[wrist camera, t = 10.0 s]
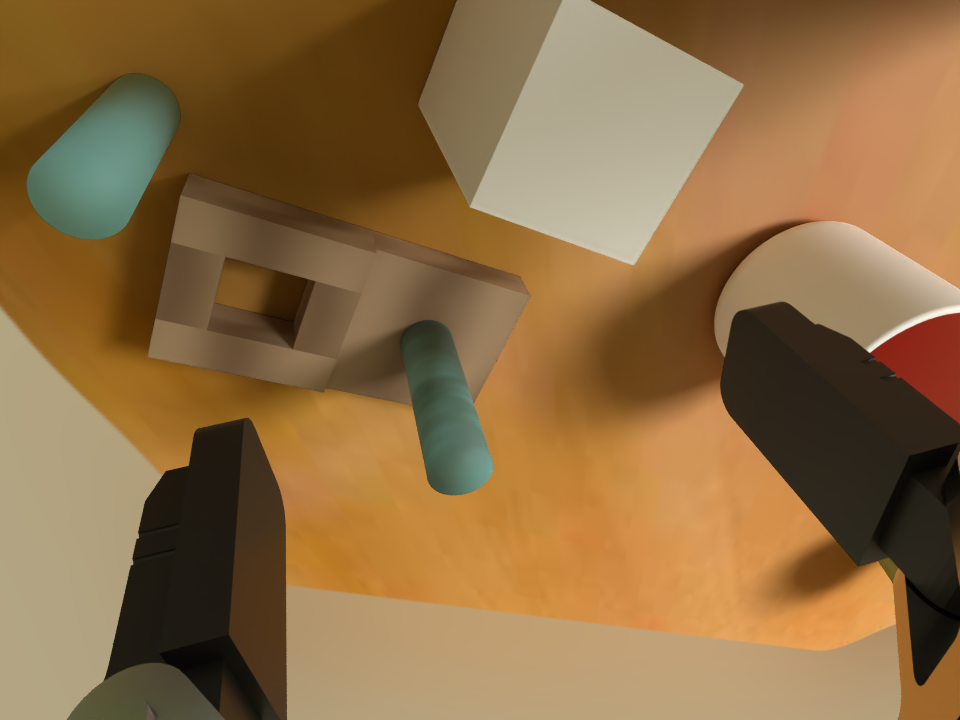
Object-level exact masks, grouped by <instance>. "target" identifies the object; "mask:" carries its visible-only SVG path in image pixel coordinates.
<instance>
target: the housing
mask: <svg viewBox="0 0 960 720" xmlns="http://www.w3.org/2000/svg"><path fill="white" fill-rule="evenodd" d="M743 86H744V84H742V83H740V82H738V81H737V80H735V79H733V78H731V77H729V76H727V75H726V74H724V73H722V72H720V71H718V70H716V69H715V68H713V67H711V66H709V65H707V64H705V63H704V62H702V61H700V60H698V59H696V58H695V57H693V56H691V55H689V54H687V53H685V52H684V51H682V50H680V49H678V48H676V47H674V46H673V45H671V44H669V43H667V42H665V41H663V40H662V39H660V38H658V37H656V36H654V35H652V34H651V33H649V32H647V31H645V30H643V29H641V28H640V27H638V26H636V25H634V24H632V23H631V22H629V21H627V20H625V19H623V18H621V17H620V16H618V15H616V14H614V13H612V12H610V11H609V10H607V9H605V8H603V7H601V6H599V5H598V4H596V3H594V2H592V1H590V0H457V1H456V4H455V7H454V9H453V12H452V15H451V17H450V20H449V23H448V25H447V28H446V31H445V33H444V36H443V39H442V41H441V44H440V47H439V49H438V52H437V55H436V57H435V60H434V63H433V65H432V68H431V71H430V73H429V76H428V79H427V81H426V84H425V87H424V89H423V92H422V95H421V97H420V100H419V103H418V106H419V108H420V110H421V112H422V114H423V116H424V118H425V120H426V122H427V124H428V126H429V128H430V130H431V132H432V134H433V136H434V138H435V140H436V142H437V144H438V146H439V148H440V150H441V152H442V154H443V156H444V157H445V159H446V161H447V163H448V165H449V167H450V169H451V171H452V173H453V175H454V177H455V179H456V181H457V183H458V185H459V187H460V189H461V191H462V193H463V195H464V197H465V199H466V201H467V203H468V205H469V207H471V208H473V209H476V210H479V211H482V212H485V213H487V214H490V215H493V216H496V217H499V218H502V219H504V220H507V221H510V222H513V223H516V224H518V225H521V226H524V227H527V228H530V229H533V230H535V231H538V232H541V233H544V234H547V235H549V236H552V237H555V238H558V239H561V240H563V241H566V242H569V243H572V244H575V245H578V246H580V247H583V248H586V249H589V250H592V251H594V252H597V253H600V254H603V255H606V256H609V257H611V258H614V259H617V260H620V261H623V262H625V263H628V264H631V265H634V264H635V263H636V261H637V260H638V258H639V256H640V255H641V253H642V251H643V250H644V248H645V247H646V245H647V243H648V242H649V240H650V238H651V237H652V235H653V233H654V232H655V230H656V229H657V227H658V225H659V224H660V222H661V220H662V219H663V217H664V215H665V214H666V212H667V211H668V209H669V207H670V206H671V204H672V202H673V201H674V199H675V197H676V196H677V194H678V193H679V191H680V189H681V188H682V186H683V184H684V183H685V181H686V179H687V178H688V176H689V175H690V173H691V171H692V170H693V168H694V166H695V165H696V163H697V162H698V160H699V158H700V157H701V155H702V153H703V152H704V150H705V148H706V147H707V145H708V144H709V142H710V140H711V139H712V137H713V135H714V134H715V132H716V130H717V129H718V127H719V126H720V124H721V122H722V121H723V119H724V117H725V116H726V114H727V112H728V111H729V109H730V108H731V106H732V104H733V103H734V101H735V99H736V98H737V96H738V94H739V93H740V91H741V90H742V88H743Z"/></svg>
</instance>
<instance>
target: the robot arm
mask: <svg viewBox="0 0 960 720" xmlns="http://www.w3.org/2000/svg"><path fill="white" fill-rule="evenodd" d="M875 358H876V357H874V356H873V355H872V354H871V353H869V352H868V351H867V350H866V349H864V348H863V347H862V346H860V345H859V344H858V343H857V342H855V341H854V340H853V339H852V338H850V337H848V336H845V335H843V334H841V333H839V332H836V331H834V330H832V329H830V328H827V327H825V326H823V325H821V324H814V323H813V322H811V321H810V320H809V319H808V318H807V317H805V316H804V315H803V314H802V313H800V312H799V311H798V310H797V309H796V308H794V307H793V306H792V305H790V304H789V303H786V302H776V303H772V304H767V305H763V306H758V307H753V308H749V309H744V310H740V311H738V312H737V313H736V314H735V315H734V317H733V319H732V323H731V328H730V333H729V338H728V344H727V349H726V354H725V360H724V365H723V370H722V376H721V382H720V389H721V395H722V399H723V403H724V405H725V407H726V410H727V411H728V413H729V415H730V416H731V417H732V419H733V420H734V421H735V422H736V423H737V424H738V426H739V427H740V428H741V429H742V430H743V431H744V433H745V434H746V435H747V436H748V437H749V439H750V440H751V441H752V442H753V443H754V444H755V446H756V447H757V448H758V449H759V450H760V451H761V453H762V454H763V455H764V456H765V457H766V459H767V460H768V461H769V462H770V463H771V464H772V466H773V467H774V468H775V469H776V470H777V471H778V473H779V474H780V475H781V476H782V477H783V479H784V480H785V481H786V482H787V483H788V484H789V486H790V487H791V488H792V489H793V490H794V492H795V493H796V494H797V495H798V496H799V497H800V499H801V500H802V501H803V502H804V503H805V504H806V506H807V507H808V508H809V509H810V510H811V512H812V513H813V514H814V515H815V516H816V517H817V519H818V520H819V521H820V522H821V523H822V524H823V526H824V527H825V528H826V529H827V530H828V532H829V533H830V534H831V535H832V536H833V537H834V539H835V540H836V541H837V542H838V543H839V544H840V546H841V547H842V548H843V549H844V550H845V552H846V553H847V554H848V555H849V556H850V557H851V559H852V560H853V561H854V562H855V563H856V564H857V566H858V567H859V566H862V565H866V564H869V563H872V562H876V561H879V560H883V559H886V558H890V559H891V560H892V561H893V563H894V564H895V565H896V566H897V567H898V570H897V572H896V574H895V577H894V581H893V589H894V602H895V615H896V628H897V641H898V654H899V668H900V680H901V707H900V713H899V717H898V720H960V424H959V423H958V422H957V421H955V420H954V419H953V418H952V417H950V416H949V415H948V414H946V413H945V412H944V411H943V410H941V409H940V408H939V407H938V406H936V405H935V404H934V403H933V402H931V401H930V400H929V399H928V398H926V397H925V396H924V395H922V394H921V393H920V392H919V391H917V390H916V389H915V388H914V387H912V386H911V385H910V384H909V383H907V382H906V381H905V380H903V379H902V378H897V377H896V373H895V372H893V371H892V370H891V369H890V368H888V367H887V366H886V365H885V364H883V363H882V362H881V361H880V362H877V361H876V359H875ZM138 533H139V539H137V540H136V545H135V549H134V554H133V558H132V559H133V565H132V566H131V568H130V571H129V576H128V580H127V585H126V589H125V594H124V599H123V603H122V607H121V612H120V617H119V621H118V625H117V630H116V634H115V639H114V643H113V648H112V652H111V657H110V661H109V666H108V669H107V673H106V676H105V679H104V681H103V682H102V683H101V684H99V685H98V686H97V687H95V688H94V689H93V690H92V691H91V692H90V693H89V694H88V695H87V696H86V697H84V698H83V700H82V701H81V702H80V703H79V704H78V705H77V706H76V708H75V709H74V710H73V711H72V713H71V714H70V716H69V717H68V719H67V720H287V693H286V692H287V683H286V682H287V681H286V677H287V676H286V524H285V512H284V506H283V501H282V496H281V493H280V489H279V486H278V483H277V481H276V478H275V476H274V474H273V471H272V469H271V466H270V464H269V461H268V459H267V456H266V454H265V451H264V449H263V447H262V444H261V442H260V439H259V437H258V434H257V432H256V429H255V427H254V425H253V423H252V421H251V420H250V419H249V418H244V419H239V420H235V421H230V422H226V423H221V424H217V425H212V426H208V427H203V428H199V429H197V430H196V431H195V433H194V437H193V443H192V450H191V456H190V462H189V466H186V467H182V468H177V469H173V470H169V471H166V472H165V473H164V475H163V476H162V478H161V479H160V481H159V482H158V483H157V485H156V486H155V488H154V489H153V491H152V492H151V494H150V495H149V497H148V498H147V499H146V501H145V504H144V508H143V513H142V517H141V522H140V527H139V531H138Z"/></svg>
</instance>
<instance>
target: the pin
mask: <svg viewBox="0 0 960 720" xmlns="http://www.w3.org/2000/svg"><path fill="white" fill-rule="evenodd" d="M180 118H181V112H180V107H179V104H178V102H177V99H176V98H175V96H174V94H173V93H172V92H171V90H170V89H169V88H168V87H167V86H166V85H164V84H163V83H162V82H160V81H159V80H157V79H155V78H153V77H151V76H148V75H145V74H137V73H134V74H127V75H124V76H121V77H120V78H118V79H117V80H115V81H114V82H113V83H112V84H111V85H110V86H109V87H108V88H107V89H106V90H105V91H104V93H103V94H102V95H101V96H100V97H99V98H98V99H97V100H96V101H95V102H94V103H93V104H92V105H91V106H90V107H89V108H88V109H87V110H86V111H85V112H84V113H83V114H82V115H81V116H80V117H79V118H78V119H77V120H76V121H75V122H74V123H73V124H72V125H71V126H70V127H69V129H68V130H67V131H66V132H65V133H64V134H63V135H62V136H61V137H60V138H59V139H58V140H57V141H56V142H55V143H54V144H53V145H52V146H51V147H50V148H49V149H48V150H47V151H46V152H45V153H44V154H43V155H42V156H41V157H40V158H39V159H38V160H37V161H36V163H35V164H34V165H33V166H32V168H31V169H30V171H29V174H28V177H27V193H28V196H29V199H30V202H31V204H32V206H33V207H34V209H35V210H36V212H37V213H38V214H39V215H40V217H41V218H42V219H44V220H45V221H46V222H47V223H48V224H49V225H51V226H52V227H54V228H55V229H57V230H58V231H60V232H62V233H65V234H67V235H69V236H73V237H76V238H81V239H88V240H97V239H103V238H108V237H110V236H113V235H115V234H117V233H118V232H120V231H121V230H122V229H123V228H124V227H125V226H126V225H127V223H128V222H129V220H130V218H131V216H132V214H133V212H134V210H135V208H136V207H137V205H138V203H139V201H140V199H141V197H142V195H143V193H144V191H145V189H146V188H147V186H148V184H149V182H150V180H151V178H152V176H153V174H154V172H155V171H156V169H157V167H158V165H159V163H160V161H161V159H162V157H163V155H164V153H165V152H166V150H167V148H168V146H169V144H170V142H171V140H172V138H173V136H174V134H175V133H176V131H177V129H178V126H179V124H180Z"/></svg>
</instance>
